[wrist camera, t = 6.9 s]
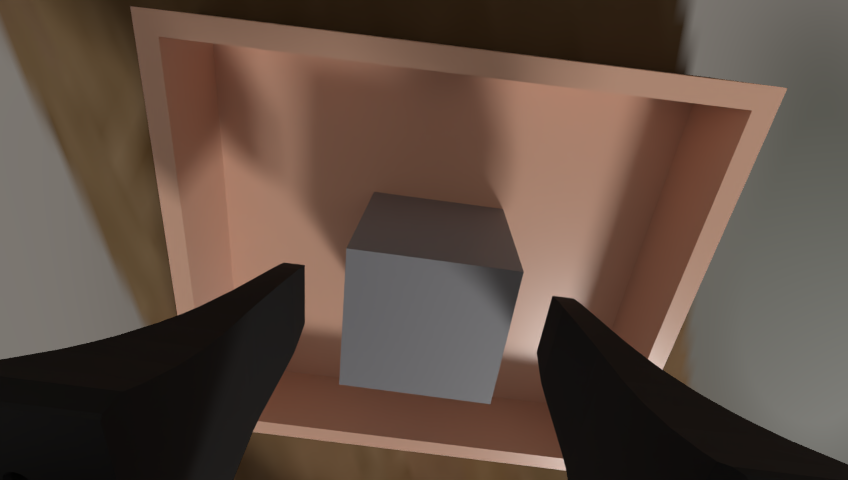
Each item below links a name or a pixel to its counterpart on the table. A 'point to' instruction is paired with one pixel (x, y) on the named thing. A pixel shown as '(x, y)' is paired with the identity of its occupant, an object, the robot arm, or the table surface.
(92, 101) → the table surface
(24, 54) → the table surface
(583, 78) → the terracotta bin
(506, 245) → the grey block
